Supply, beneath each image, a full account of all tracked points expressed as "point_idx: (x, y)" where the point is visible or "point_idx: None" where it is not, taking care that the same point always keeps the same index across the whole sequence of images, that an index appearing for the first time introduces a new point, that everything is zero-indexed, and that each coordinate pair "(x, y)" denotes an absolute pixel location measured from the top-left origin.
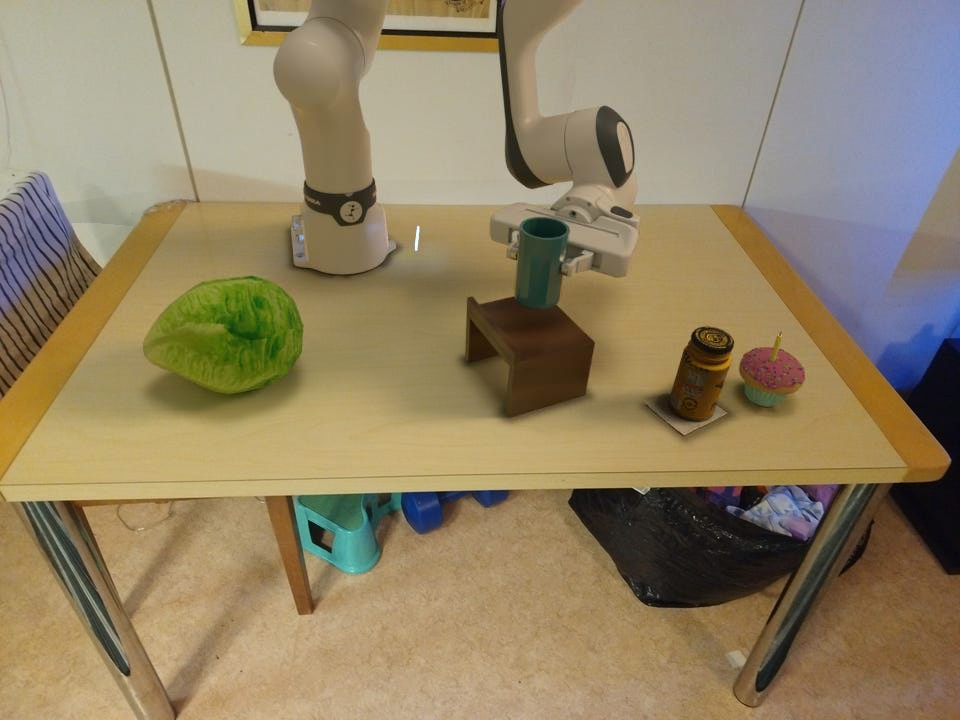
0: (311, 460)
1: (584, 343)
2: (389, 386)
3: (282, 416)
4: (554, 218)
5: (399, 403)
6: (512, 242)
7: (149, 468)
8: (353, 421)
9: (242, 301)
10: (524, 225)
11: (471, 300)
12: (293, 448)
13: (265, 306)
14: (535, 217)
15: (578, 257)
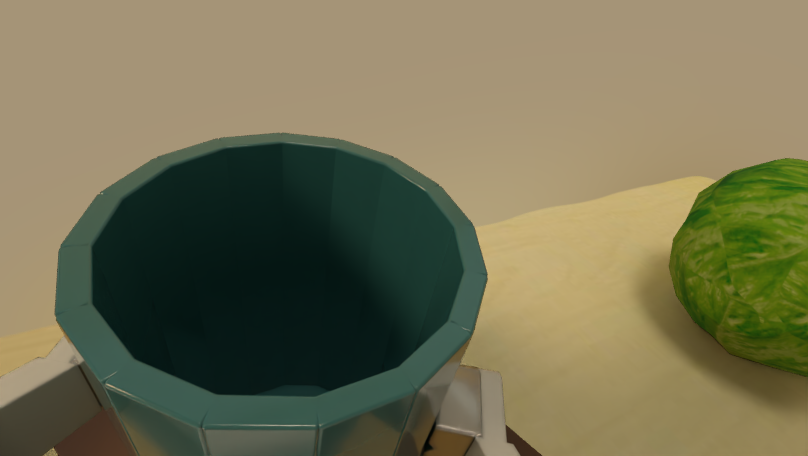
0: (525, 232)
1: (96, 416)
2: (549, 378)
3: (616, 277)
4: (213, 424)
5: (504, 344)
6: (503, 424)
7: (641, 198)
8: (534, 292)
9: (803, 178)
10: (456, 281)
11: (525, 445)
12: (557, 241)
13: (775, 190)
14: (421, 370)
15: (27, 388)
